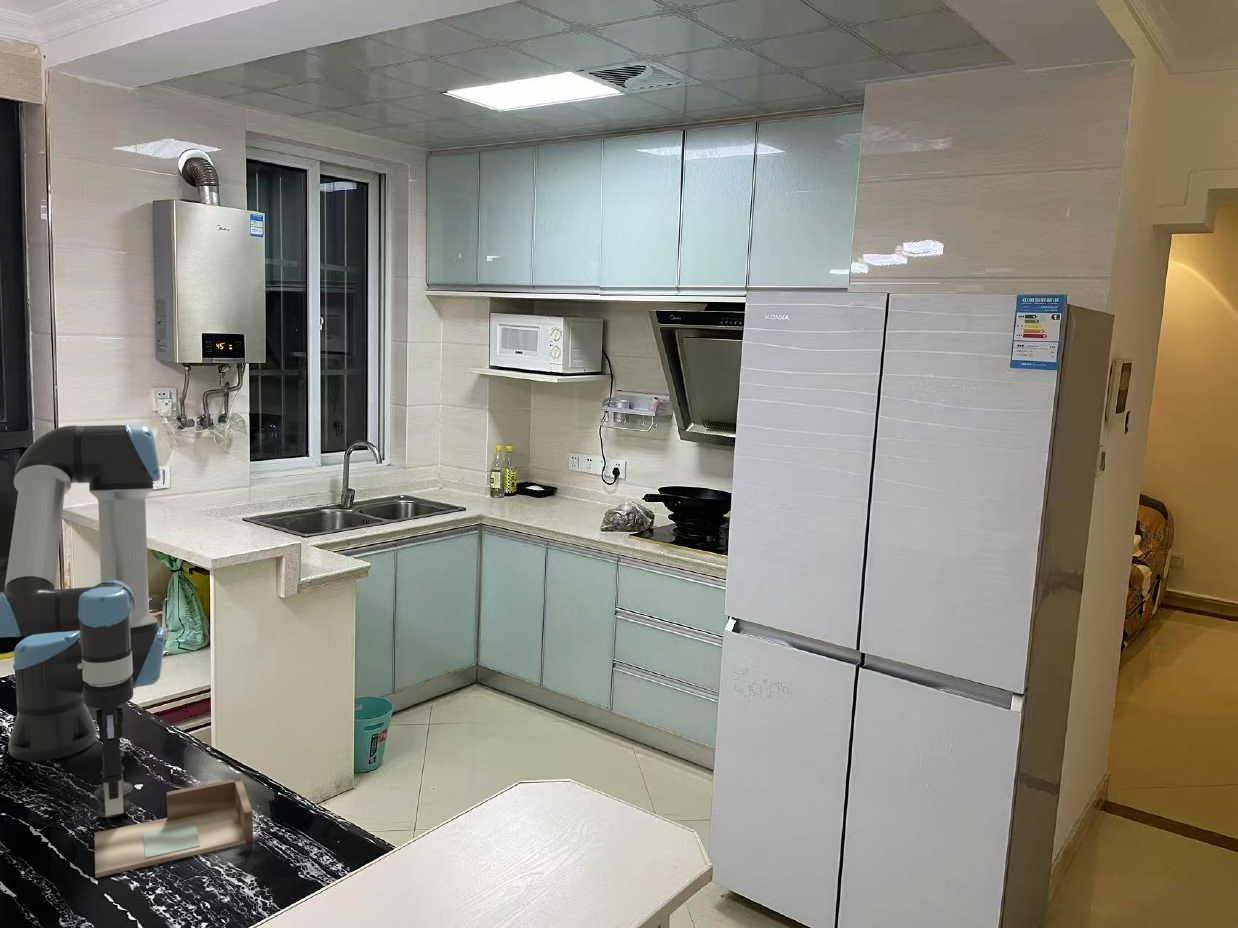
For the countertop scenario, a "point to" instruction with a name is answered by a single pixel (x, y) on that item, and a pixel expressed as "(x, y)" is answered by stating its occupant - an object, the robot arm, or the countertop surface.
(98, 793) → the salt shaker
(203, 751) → the countertop surface
